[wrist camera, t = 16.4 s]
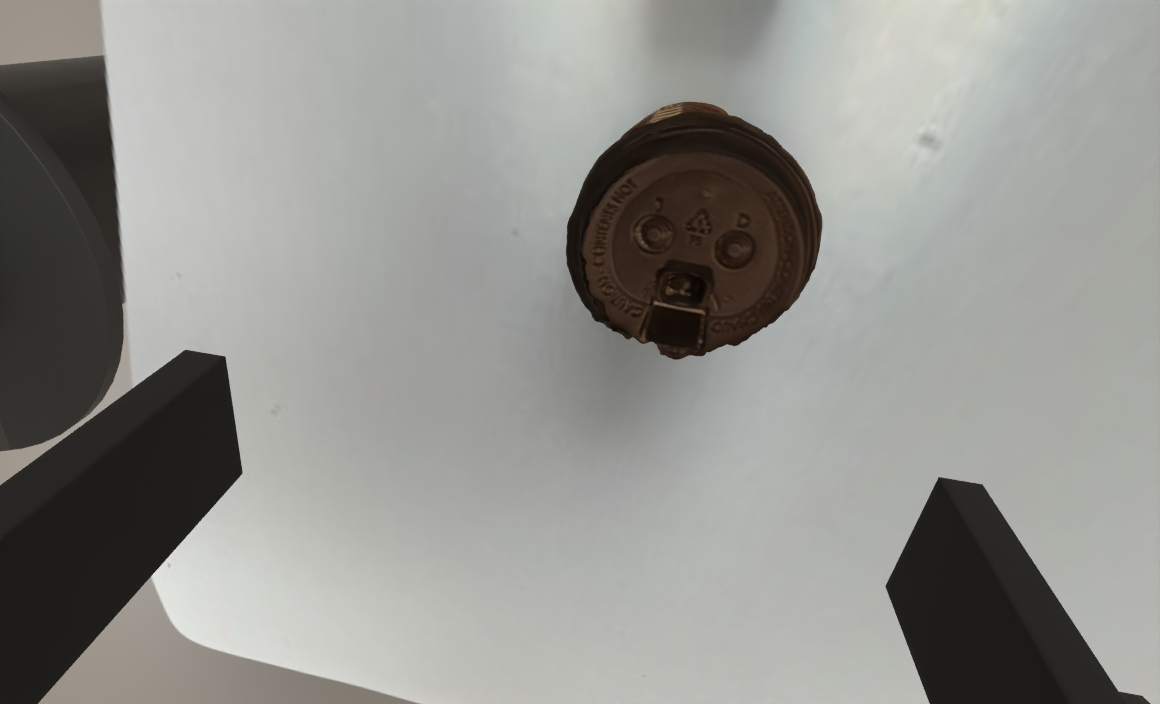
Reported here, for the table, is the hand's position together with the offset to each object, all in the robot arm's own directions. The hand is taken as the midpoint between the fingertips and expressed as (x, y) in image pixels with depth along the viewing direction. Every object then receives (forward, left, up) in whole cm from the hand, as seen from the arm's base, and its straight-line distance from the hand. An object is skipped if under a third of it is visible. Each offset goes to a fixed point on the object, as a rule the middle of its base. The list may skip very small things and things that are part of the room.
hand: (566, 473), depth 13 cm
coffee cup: (+2, +1, -24) cm, 24 cm away
